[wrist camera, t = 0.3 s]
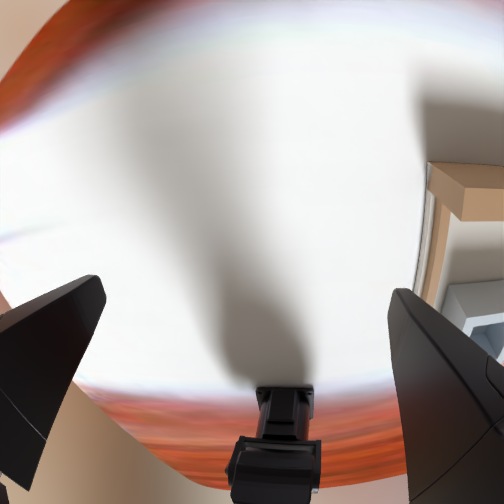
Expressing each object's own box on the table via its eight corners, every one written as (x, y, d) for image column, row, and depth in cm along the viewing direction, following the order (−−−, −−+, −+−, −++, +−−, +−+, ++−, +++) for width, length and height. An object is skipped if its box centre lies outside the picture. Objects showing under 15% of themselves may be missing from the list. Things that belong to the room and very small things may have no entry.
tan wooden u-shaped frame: (490, 347, 25) (507, 387, 20) (397, 361, 28) (406, 408, 23) (540, 170, 16) (583, 196, 11) (427, 161, 19) (465, 187, 13)
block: (486, 334, 23) (501, 364, 20) (432, 342, 24) (443, 376, 21) (507, 279, 20) (528, 308, 16) (448, 285, 21) (466, 318, 18)
